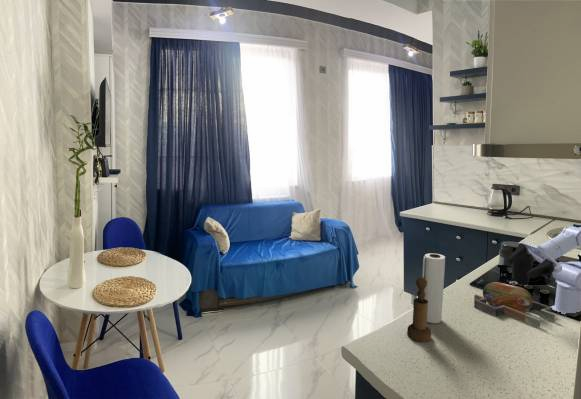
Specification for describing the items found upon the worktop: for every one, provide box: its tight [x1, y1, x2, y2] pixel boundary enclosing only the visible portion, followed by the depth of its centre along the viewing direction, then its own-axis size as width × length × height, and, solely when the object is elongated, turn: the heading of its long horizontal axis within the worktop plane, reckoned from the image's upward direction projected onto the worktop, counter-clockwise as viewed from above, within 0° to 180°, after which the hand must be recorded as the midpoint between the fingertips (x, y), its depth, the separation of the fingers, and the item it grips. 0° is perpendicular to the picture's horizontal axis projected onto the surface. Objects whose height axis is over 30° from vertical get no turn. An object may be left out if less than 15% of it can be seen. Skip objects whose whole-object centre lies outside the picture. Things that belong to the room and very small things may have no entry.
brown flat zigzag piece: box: [473, 294, 556, 329], centre depth 128 cm, size 17×22×2 cm
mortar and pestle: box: [407, 276, 432, 343], centre depth 111 cm, size 7×6×18 cm
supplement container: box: [497, 241, 520, 268], centre depth 166 cm, size 10×10×12 cm
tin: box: [482, 281, 534, 314], centre depth 130 cm, size 15×3×8 cm, turn 44°
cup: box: [511, 253, 535, 285], centre depth 150 cm, size 8×8×12 cm
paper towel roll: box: [422, 253, 446, 324], centre depth 121 cm, size 7×6×21 cm
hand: (517, 268), depth 122 cm, fingers open, 7 cm apart
